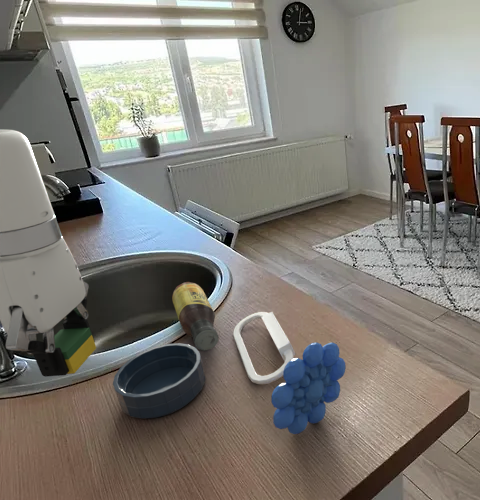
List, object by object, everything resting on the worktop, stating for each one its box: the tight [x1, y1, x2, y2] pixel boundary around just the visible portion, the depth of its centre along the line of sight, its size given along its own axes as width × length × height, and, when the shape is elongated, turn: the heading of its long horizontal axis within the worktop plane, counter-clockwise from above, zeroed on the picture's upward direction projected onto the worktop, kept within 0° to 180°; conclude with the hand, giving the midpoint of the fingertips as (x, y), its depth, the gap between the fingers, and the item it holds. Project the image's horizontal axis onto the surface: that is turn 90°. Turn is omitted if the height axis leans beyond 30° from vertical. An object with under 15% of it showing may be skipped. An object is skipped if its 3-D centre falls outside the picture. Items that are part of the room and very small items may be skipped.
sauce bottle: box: [171, 281, 219, 352], centre depth 79 cm, size 6×6×20 cm
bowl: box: [112, 342, 207, 419], centre depth 63 cm, size 12×12×4 cm
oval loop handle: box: [232, 311, 297, 385], centre depth 71 cm, size 20×8×4 cm, turn 25°
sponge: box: [54, 327, 97, 375], centre depth 57 cm, size 4×6×4 cm
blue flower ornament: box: [270, 342, 347, 435], centre depth 55 cm, size 12×7×12 cm, turn 130°
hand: (70, 357), depth 57 cm, fingers closed on sponge, 5 cm apart
